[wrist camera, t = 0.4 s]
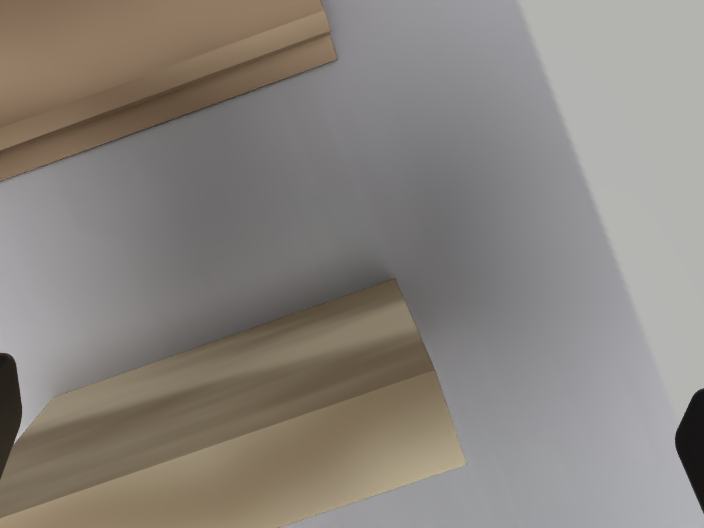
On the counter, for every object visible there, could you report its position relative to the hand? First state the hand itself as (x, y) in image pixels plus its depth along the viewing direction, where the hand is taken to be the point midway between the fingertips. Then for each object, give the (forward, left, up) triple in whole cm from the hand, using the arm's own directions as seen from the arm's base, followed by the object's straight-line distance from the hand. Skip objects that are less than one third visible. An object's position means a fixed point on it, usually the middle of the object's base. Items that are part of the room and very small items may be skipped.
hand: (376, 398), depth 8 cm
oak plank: (-8, 0, -15) cm, 17 cm away
